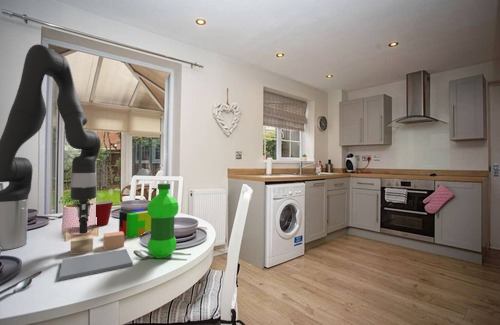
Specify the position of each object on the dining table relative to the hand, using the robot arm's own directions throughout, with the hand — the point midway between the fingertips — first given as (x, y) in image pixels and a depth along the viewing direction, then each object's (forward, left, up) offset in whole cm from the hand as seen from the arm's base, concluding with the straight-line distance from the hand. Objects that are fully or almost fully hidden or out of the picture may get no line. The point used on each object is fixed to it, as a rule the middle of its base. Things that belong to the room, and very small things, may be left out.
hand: (83, 230), depth 85 cm
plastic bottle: (+23, -19, -8) cm, 30 cm away
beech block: (0, 0, -8) cm, 8 cm away
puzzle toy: (+20, +14, -8) cm, 26 cm away
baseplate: (+4, -16, -7) cm, 18 cm away
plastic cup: (+8, +39, -8) cm, 41 cm away
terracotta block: (+10, 0, -8) cm, 12 cm away
